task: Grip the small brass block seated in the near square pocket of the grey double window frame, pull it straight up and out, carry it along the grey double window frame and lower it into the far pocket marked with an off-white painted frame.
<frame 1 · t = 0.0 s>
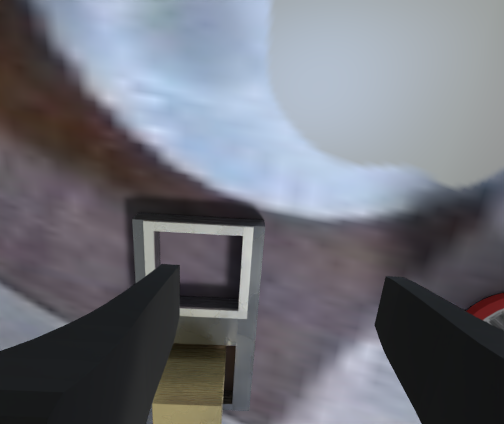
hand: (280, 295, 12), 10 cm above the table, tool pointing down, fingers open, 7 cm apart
grey double window frame: (199, 315, 24), on the table
brass block: (198, 361, 25), resting in grey double window frame
canned food: (494, 332, 25), on the table
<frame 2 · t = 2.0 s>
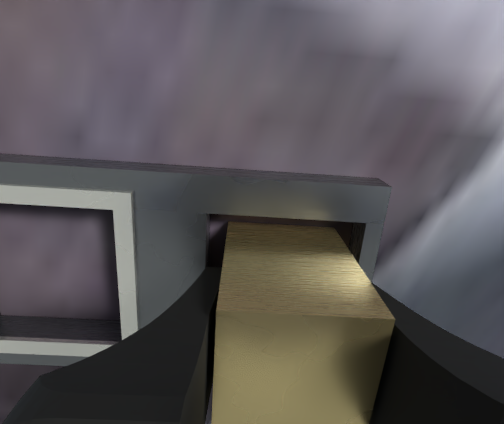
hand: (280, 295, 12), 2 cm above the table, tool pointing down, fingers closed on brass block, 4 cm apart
grey double window frame: (169, 265, 13), on the table
brass block: (276, 271, 13), resting in grey double window frame, touching gripper
when the fingers open (2 cm above the table, at t = 5.6 s): brass block stays where it is, resting in grey double window frame.
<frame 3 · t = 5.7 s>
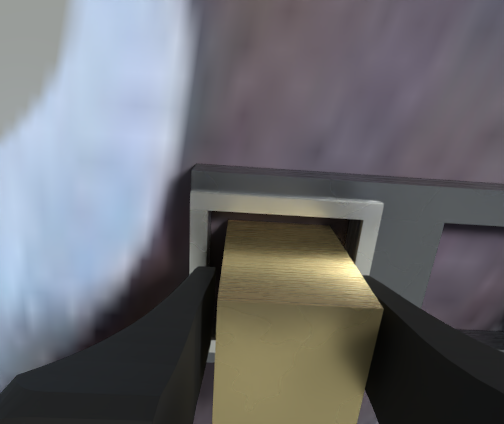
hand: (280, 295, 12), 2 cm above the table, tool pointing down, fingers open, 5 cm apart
grey double window frame: (376, 270, 14), on the table
brass block: (274, 267, 14), resting in grey double window frame
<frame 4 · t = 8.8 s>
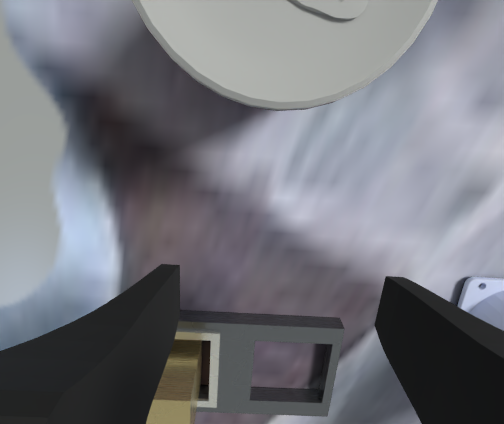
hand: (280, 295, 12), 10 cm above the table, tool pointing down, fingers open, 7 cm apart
grey double window frame: (231, 358, 25), on the table
brass block: (174, 356, 25), resting in grey double window frame
canned food: (262, 26, 18), on the table
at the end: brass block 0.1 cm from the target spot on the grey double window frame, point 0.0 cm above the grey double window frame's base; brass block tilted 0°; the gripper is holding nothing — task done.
